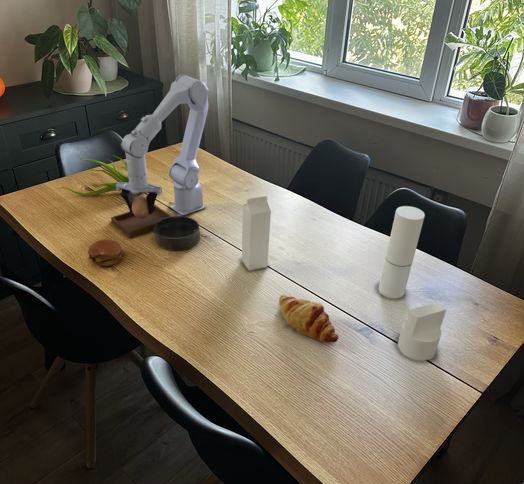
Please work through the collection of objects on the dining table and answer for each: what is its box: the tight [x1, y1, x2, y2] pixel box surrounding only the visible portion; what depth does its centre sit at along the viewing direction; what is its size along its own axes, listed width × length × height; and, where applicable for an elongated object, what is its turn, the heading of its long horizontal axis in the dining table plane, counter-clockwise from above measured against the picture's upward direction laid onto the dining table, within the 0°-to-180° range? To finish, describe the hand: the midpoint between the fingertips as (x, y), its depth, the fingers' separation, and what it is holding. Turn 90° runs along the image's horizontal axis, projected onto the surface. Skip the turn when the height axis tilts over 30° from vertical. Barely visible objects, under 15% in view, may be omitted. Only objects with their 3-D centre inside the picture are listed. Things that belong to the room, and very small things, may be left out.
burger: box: [87, 238, 124, 267], centre depth 146 cm, size 10×9×5 cm
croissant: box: [278, 294, 339, 343], centre depth 126 cm, size 21×10×8 cm, turn 39°
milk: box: [241, 195, 272, 271], centre depth 142 cm, size 6×6×22 cm
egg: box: [132, 195, 149, 219], centre depth 162 cm, size 6×6×8 cm
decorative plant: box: [53, 155, 143, 196], centre depth 177 cm, size 18×30×15 cm, turn 70°
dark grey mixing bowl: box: [152, 215, 201, 251], centre depth 157 cm, size 14×14×4 cm
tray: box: [110, 203, 172, 239], centre depth 165 cm, size 16×12×2 cm
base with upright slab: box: [397, 301, 447, 362], centre depth 119 cm, size 9×9×12 cm
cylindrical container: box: [378, 205, 426, 299], centre depth 133 cm, size 7×7×25 cm
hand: (141, 211), depth 163 cm, fingers closed on egg, 6 cm apart
